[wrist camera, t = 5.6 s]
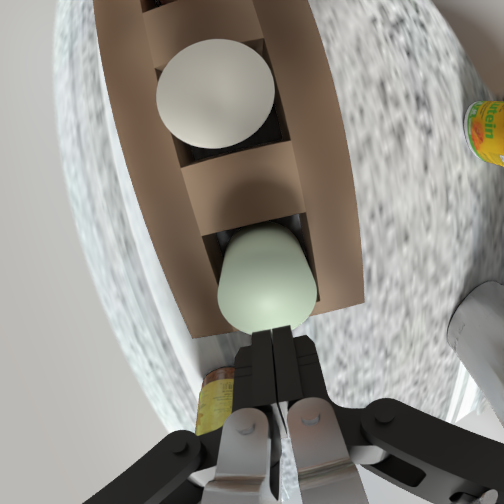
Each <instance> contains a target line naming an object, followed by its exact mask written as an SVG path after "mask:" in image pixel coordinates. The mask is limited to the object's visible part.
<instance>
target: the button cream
mask: <svg viewBox="0 0 504 504" xmlns="http://www.w3.org/2000/svg"><path fill="white" fill-rule="evenodd" d="M274 94H275V88H274V81H273V76H272V74H271V71H270V69H269V67H268V65H267V64H266V62H265V61H264V59H263V58H262V57H261V56H260V55H259V54H258V53H257V52H255V51H254V50H253V49H251V48H250V47H248V46H246V45H244V44H242V43H239V42H236V41H232V40H226V39H211V40H205V41H201V42H198V43H195V44H192V45H190V46H188V47H186V48H185V49H183V50H182V51H180V52H179V53H178V54H177V55H175V56H174V57H173V58H172V59H171V60H170V62H169V63H168V64H167V66H166V67H165V68H164V70H163V72H162V74H161V76H160V79H159V82H158V86H157V92H156V102H157V108H158V111H159V114H160V117H161V119H162V121H163V123H164V124H165V126H166V127H167V128H168V129H169V130H170V132H171V133H172V134H174V135H175V136H176V137H177V138H179V139H180V140H182V141H184V142H186V143H188V144H190V145H193V146H197V147H202V148H223V147H228V146H231V145H234V144H237V143H239V142H241V141H243V140H245V139H246V138H248V137H250V136H251V135H252V134H253V133H255V132H256V131H257V130H258V129H259V128H260V127H261V126H262V124H263V123H264V122H265V120H266V119H267V117H268V115H269V113H270V111H271V108H272V105H273V101H274Z"/></svg>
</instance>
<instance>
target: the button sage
mask: <svg viewBox="0 0 504 504" xmlns="http://www.w3.org/2000/svg"><path fill="white" fill-rule="evenodd" d="M217 298H218V304H219V308H220V310H221V312H222V314H223V316H224V317H225V319H226V320H227V321H228V322H229V323H230V324H231V325H232V326H234V327H235V328H237V329H238V330H240V331H242V332H244V333H247V334H250V335H252V332H257V331H262V330H267V329H271V331H272V328H277V327H282V326H287V325H290V326H291V330H293V329H295V328H297V327H298V326H299V325H301V324H302V323H303V322H304V321H305V320H306V319H307V318H308V316H309V315H310V314H311V312H312V310H313V308H314V306H315V303H316V298H317V287H316V283H315V280H314V278H313V275H312V273H311V270H310V268H309V265H308V263H307V261H306V258H305V256H304V253H303V251H302V249H301V246H300V244H299V242H298V240H297V238H296V237H295V235H294V234H293V233H292V232H291V231H290V230H289V229H287V228H286V227H284V226H282V225H280V224H277V223H274V222H267V221H263V222H259V223H254V224H250V225H246V226H244V227H242V228H241V229H239V230H238V231H237V232H236V233H235V234H234V235H233V236H232V238H231V239H230V241H229V242H228V245H227V247H226V251H225V256H224V262H223V267H222V272H221V277H220V282H219V287H218V297H217Z"/></svg>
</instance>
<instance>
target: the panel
mask: <svg viewBox="0 0 504 504" xmlns="http://www.w3.org/2000/svg"><path fill="white" fill-rule="evenodd" d="M93 5H94V14H95V22H96V29H97V36H98V43H99V49H100V55H101V60H102V66H103V71H104V76H105V81H106V86H107V91H108V95H109V100H110V104H111V108H112V113H113V117H114V121H115V125H116V129H117V132H118V136H119V140H120V144H121V147H122V151H123V154H124V158H125V161H126V165H127V168H128V172H129V175H130V178H131V181H132V185H133V188H134V191H135V194H136V197H137V200H138V203H139V206H140V209H141V212H142V215H143V218H144V221H145V224H146V226H147V229H148V232H149V235H150V238H151V240H152V243H153V246H154V248H155V251H156V254H157V256H158V259H159V261H160V264H161V266H162V269H163V272H164V274H165V276H166V279H167V281H168V284H169V286H170V289H171V291H172V293H173V296H174V298H175V301H176V303H177V305H178V307H179V310H180V312H181V314H182V317H183V319H184V321H185V323H186V326H187V328H188V330H189V332H190V334H191V336H192V338H199V337H205V336H212V335H218V334H224V333H230V332H235V331H240V330H238V329H237V328H235V327H234V326H232V325H231V324H230V323H229V322H228V321H227V320H226V319H225V317H224V316H223V314H222V312H221V310H220V308H219V304H218V298H217V297H218V287H219V282H220V277H221V272H222V267H223V262H224V259H223V256H222V253H221V250H220V246H219V243H218V240H217V237H216V232H220V231H225V230H229V229H233V228H237V227H241V226H246V225H250V224H254V223H259V222H263V221H267V220H272V219H276V218H281V217H285V216H290V215H294V214H299V217H300V223H301V228H302V233H303V239H304V244H305V250H306V255H307V261H308V265H309V268H310V270H311V273H312V275H313V278H314V280H315V283H316V287H317V298H316V303H315V306H314V308H313V310H312V312H311V314H310V315H309V316H313V315H318V314H322V313H326V312H330V311H334V310H338V309H342V308H346V307H350V306H354V305H357V304H361V303H364V279H363V263H362V250H361V238H360V228H359V219H358V210H357V202H356V195H355V188H354V181H353V174H352V168H351V162H350V156H349V151H348V145H347V140H346V135H345V130H344V125H343V120H342V116H341V111H340V107H339V102H338V98H337V94H336V90H335V86H334V82H333V78H332V75H331V71H330V67H329V64H328V60H327V57H326V54H325V50H324V47H323V44H322V40H321V37H320V34H319V31H318V28H317V25H316V22H315V19H314V17H313V14H312V11H311V8H310V5H309V3H308V0H178V1H175V2H172V3H169V4H166V5H163V6H160V7H157V8H156V6H155V1H154V0H93ZM211 39H226V40H232V41H236V42H239V43H242V44H244V45H246V46H248V47H250V48H251V49H253V50H254V51H255V52H257V53H258V54H259V55H260V56H261V57H262V58H263V59H264V61H265V62H266V64H267V65H268V67H269V69H270V71H271V74H272V76H273V81H274V88H275V94H274V101H273V102H274V106H275V109H276V113H277V117H278V122H279V126H280V130H281V134H282V138H283V139H282V140H277V141H272V142H268V143H263V144H259V145H254V146H250V147H246V148H242V149H238V150H234V151H230V152H226V153H222V154H218V155H215V156H211V157H207V158H204V159H200V160H197V161H194V157H193V154H192V150H191V146H190V144H188V143H186V142H184V141H182V140H180V139H179V138H177V137H176V136H175V135H174V134H172V133H171V132H170V130H169V129H168V128H167V127H166V126H165V124H164V123H163V121H162V119H161V117H160V114H159V111H158V108H157V102H156V92H157V86H158V82H159V79H160V76H161V74H162V72H163V70H164V68H165V67H166V66H167V64H168V63H169V62H170V60H171V59H172V58H173V57H174V56H175V55H177V54H178V53H179V52H180V51H182V50H183V49H185V48H186V47H188V46H190V45H192V44H195V43H198V42H201V41H205V40H211ZM309 316H308V317H309Z"/></svg>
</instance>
